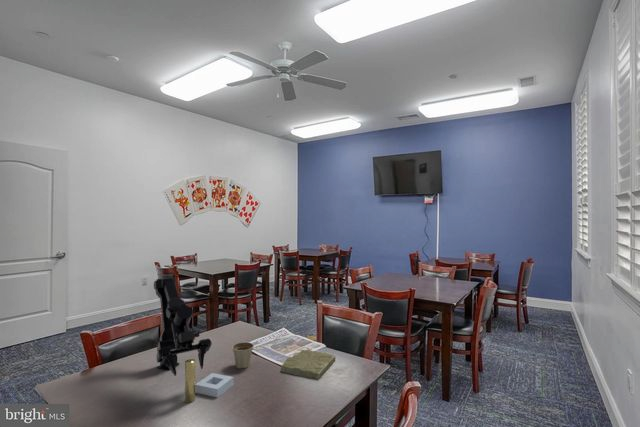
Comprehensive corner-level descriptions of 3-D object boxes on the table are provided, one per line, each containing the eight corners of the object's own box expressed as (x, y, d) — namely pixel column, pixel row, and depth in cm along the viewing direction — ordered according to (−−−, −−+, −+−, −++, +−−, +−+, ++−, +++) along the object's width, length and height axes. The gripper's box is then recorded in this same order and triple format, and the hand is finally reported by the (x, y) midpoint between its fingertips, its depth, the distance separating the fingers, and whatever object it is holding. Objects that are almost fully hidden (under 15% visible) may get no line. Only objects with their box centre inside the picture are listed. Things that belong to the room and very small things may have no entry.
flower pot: (248, 371, 145) (248, 351, 145) (228, 369, 147) (228, 349, 147) (257, 362, 154) (257, 343, 154) (237, 360, 156) (237, 341, 156)
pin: (182, 401, 121) (183, 362, 121) (189, 397, 124) (189, 358, 124) (190, 403, 120) (190, 363, 120) (197, 398, 123) (197, 359, 123)
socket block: (195, 392, 127) (195, 384, 127) (212, 380, 137) (212, 372, 137) (217, 397, 124) (217, 389, 124) (233, 384, 133) (233, 377, 133)
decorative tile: (335, 361, 156) (335, 353, 156) (319, 380, 138) (319, 372, 138) (299, 355, 164) (299, 347, 164) (278, 372, 145) (278, 364, 145)
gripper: (158, 326, 122) (164, 368, 113) (210, 317, 133) (220, 354, 124) (153, 342, 128) (159, 383, 119) (203, 332, 139) (212, 369, 130)
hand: (189, 371), depth 123 cm, fingers open, 9 cm apart
